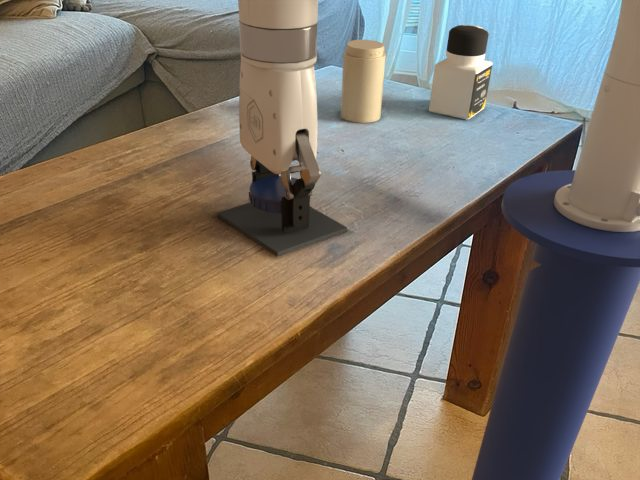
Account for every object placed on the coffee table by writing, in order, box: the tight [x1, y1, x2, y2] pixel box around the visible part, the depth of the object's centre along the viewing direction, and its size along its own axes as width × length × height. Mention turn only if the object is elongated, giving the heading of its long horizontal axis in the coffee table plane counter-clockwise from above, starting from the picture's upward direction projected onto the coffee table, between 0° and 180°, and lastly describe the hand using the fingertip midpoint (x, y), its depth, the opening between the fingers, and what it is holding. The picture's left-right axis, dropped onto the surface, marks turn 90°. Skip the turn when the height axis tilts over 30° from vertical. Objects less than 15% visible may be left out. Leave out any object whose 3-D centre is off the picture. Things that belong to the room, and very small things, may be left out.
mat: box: [216, 202, 348, 257], centre depth 77 cm, size 12×10×1 cm
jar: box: [340, 39, 387, 124], centre depth 102 cm, size 6×6×10 cm
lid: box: [248, 175, 298, 213], centre depth 75 cm, size 7×7×1 cm
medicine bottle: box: [428, 24, 493, 121], centre depth 105 cm, size 7×7×12 cm
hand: (280, 215), depth 76 cm, fingers closed on lid, 6 cm apart
